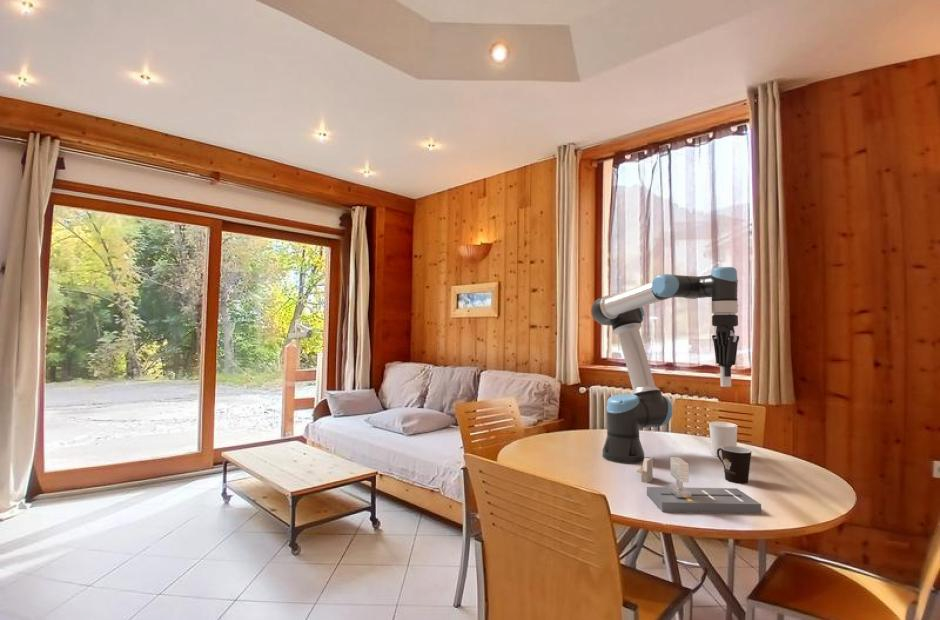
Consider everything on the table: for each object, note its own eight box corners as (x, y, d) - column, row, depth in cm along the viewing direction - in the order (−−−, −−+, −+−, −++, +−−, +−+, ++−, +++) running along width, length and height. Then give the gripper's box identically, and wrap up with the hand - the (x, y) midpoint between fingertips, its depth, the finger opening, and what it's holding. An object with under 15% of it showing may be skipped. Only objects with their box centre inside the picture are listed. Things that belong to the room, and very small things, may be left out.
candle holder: (743, 459, 174) (743, 427, 174) (717, 458, 174) (717, 426, 174) (729, 452, 184) (728, 421, 184) (704, 451, 184) (704, 421, 184)
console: (662, 511, 124) (662, 501, 124) (646, 495, 136) (646, 486, 136) (761, 513, 123) (761, 503, 123) (736, 497, 135) (736, 488, 135)
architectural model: (636, 482, 148) (636, 459, 149) (643, 476, 154) (642, 454, 154) (647, 484, 146) (647, 461, 147) (653, 478, 152) (653, 456, 152)
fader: (677, 497, 126) (676, 463, 127) (668, 489, 133) (667, 457, 133) (691, 497, 126) (691, 464, 126) (682, 489, 132) (681, 457, 133)
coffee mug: (756, 485, 144) (756, 453, 144) (726, 483, 146) (726, 452, 146) (742, 474, 156) (742, 444, 156) (714, 472, 157) (714, 443, 158)
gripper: (747, 313, 145) (748, 389, 144) (726, 314, 158) (727, 384, 157) (723, 313, 145) (724, 389, 144) (703, 314, 158) (704, 383, 157)
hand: (725, 386), depth 150 cm, fingers closed
